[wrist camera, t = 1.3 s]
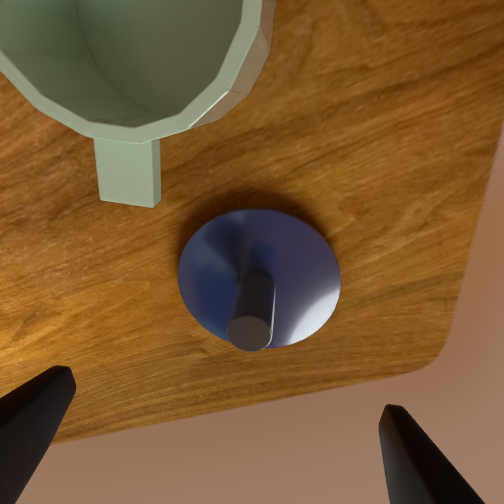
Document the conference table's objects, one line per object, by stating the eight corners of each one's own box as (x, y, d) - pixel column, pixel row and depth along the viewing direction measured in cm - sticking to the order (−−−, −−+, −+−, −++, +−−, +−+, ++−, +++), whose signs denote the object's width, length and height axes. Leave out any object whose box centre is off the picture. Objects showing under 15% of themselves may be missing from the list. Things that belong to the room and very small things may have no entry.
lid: (357, 217, 18) (384, 262, 13) (318, 348, 23) (327, 417, 18) (183, 191, 19) (146, 225, 14) (181, 325, 24) (152, 386, 19)
